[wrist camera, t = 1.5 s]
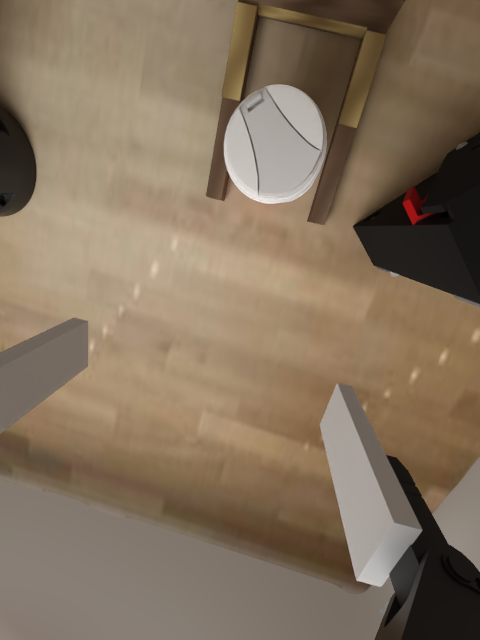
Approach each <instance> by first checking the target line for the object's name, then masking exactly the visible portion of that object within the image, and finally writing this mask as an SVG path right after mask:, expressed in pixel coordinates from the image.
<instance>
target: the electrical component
mask: <svg viewBox="0 0 480 640" xmlns="http://www.w3.org/2000/svg"><path fill="white" fill-rule="evenodd" d="M353 228H354V230H355V231H356V233H357V235H358V237H359V239H360V241H361V243H362V244H363V246H364V248H365V250H366V252H367V254H368V256H369V257H370V259H371V261H372V263H373V265H374V266H377V267H378V269H381V270H384V271H386V272H390V274H391V276H399V275H401V276H404V277H407V278H410V279H412V280H415V281H418V282H420V283H423V284H426V285H429V286H431V287H434V288H437V289H440V290H442V291H445V292H448V293H450V294H453V295H454V297H455V298H457V299H460V300H463V301H465V302H468V303H471V304H473V305H476V306H479V307H480V133H479V134H477V135H475V136H474V137H472V138H471V139H469V140H468V141H466V142H462V143H460V144H459V145H458V146H457V147H456V149H454V150H453V151H451V152H450V153H448V154H447V156H446V158H445V160H444V162H443V164H442V166H441V168H440V170H439V172H437V173H436V174H434V175H432V176H431V177H429V178H428V179H426V180H425V181H423V182H421V183H420V184H418V185H417V186H415V187H412V188H410V189H408V191H407V192H406V193H404V194H403V195H401V196H400V197H398V198H396V199H395V200H393V201H392V202H390V203H389V204H387V205H385V206H384V207H382V208H381V209H379V210H378V211H376V212H375V213H373V214H371V215H370V216H368V217H367V218H365V219H364V220H362V221H360V222H359V223H357V224H356V225H354V226H353Z"/></svg>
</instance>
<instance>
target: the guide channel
mask: <svg viewBox="0 0 480 640" xmlns="http://www.w3.org/2000/svg"><path fill="white" fill-rule="evenodd" d="M404 1H405V0H239V1H238V2H237V6H236V12H235V18H234V24H233V30H232V36H231V42H230V49H229V55H228V61H227V67H226V73H225V79H224V85H223V91H222V97H223V98H222V104H221V110H220V116H219V122H218V128H217V134H216V140H215V146H214V152H213V158H212V164H211V170H210V176H209V182H208V188H207V194H206V196H207V197H209V198H213V199H217V200H222V201H224V198H225V193H226V187H227V182H228V177H229V173H228V171H227V167H226V164H225V158H224V138H225V133H226V129H227V125H228V123H229V121H230V118H231V116H232V115H233V113H234V111H235V109H236V108H237V107H238V106H239V104H240V103H241V102H242V101H243V97H244V92H245V87H246V82H247V76H248V71H249V66H250V60H251V55H252V50H253V45H254V39H255V34H256V29H257V24H258V18H259V17H263V18H268V19H272V20H277V21H281V22H286V23H290V24H295V25H299V26H304V27H308V28H313V29H317V30H322V31H326V32H331V33H335V34H340V35H344V36H349V37H353V38H358V39H362V40H361V43H360V46H359V50H358V53H357V56H356V60H355V63H354V66H353V70H352V73H351V76H350V80H349V83H348V86H347V90H346V93H345V96H344V100H343V103H342V106H341V110H340V113H339V117H338V120H337V123H336V127H335V130H334V133H333V137H332V140H331V143H330V147H329V150H328V153H327V157H326V160H325V163H324V167H323V170H322V173H321V177H320V180H319V183H318V187H317V190H316V193H315V197H314V200H313V204H312V207H311V210H310V214H309V217H308V220H307V221H308V222H312V223H316V224H320V225H325V222H326V219H327V216H328V213H329V210H330V207H331V204H332V200H333V197H334V194H335V191H336V188H337V185H338V182H339V179H340V176H341V173H342V169H343V166H344V163H345V160H346V157H347V154H348V151H349V148H350V145H351V141H352V138H353V135H354V132H355V129H356V128H357V126H358V123H359V120H360V117H361V114H362V110H363V107H364V104H365V101H366V98H367V95H368V92H369V89H370V86H371V83H372V79H373V76H374V73H375V70H376V67H377V64H378V61H379V58H380V55H381V52H382V49H383V45H384V42H385V39H386V36H387V35H386V33H387V30H388V28H389V27H390V25H391V23H392V22H393V20H394V18H395V16H396V15H397V13H398V11H399V10H400V8H401V6H402V5H403V3H404Z"/></svg>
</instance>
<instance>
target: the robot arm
mask: <svg viewBox="0 0 480 640" xmlns="http://www.w3.org/2000/svg"><path fill="white" fill-rule="evenodd" d="M35 177H36V171H35V162H34V157H33V153H32V149H31V147H30V144H29V141H28V139H27V137H26V135H25V133H24V131H23V130H22V128H21V127H20V125H19V124H18V122H17V121H16V120H15V118H14V117H13V116H12V115H11V114H10V113H9V112H8V111H7V110H6V109H5V108H4V107H3V106H1V105H0V217H2V216H9V215H12V214H15V213H17V212H18V211H20V210H21V209H22V208H23V207H24V206H25V205H26V204H27V203H28V201H29V199H30V198H31V195H32V193H33V190H34V186H35ZM86 367H88V321H85V320H81V319H77V318H72V319H70V320H68V321H66V322H64V323H62V324H59V325H57V326H55V327H53V328H51V329H49V330H47V331H45V332H43V333H40V334H38V335H36V336H34V337H32V338H30V339H28V340H26V341H24V342H21V343H19V344H17V345H15V346H13V347H11V348H9V349H7V350H5V351H2V352H0V434H1V433H2V432H3V431H5V430H6V429H7V428H9V427H10V426H11V425H12V424H14V423H15V422H16V421H18V420H19V419H20V418H21V417H23V416H24V415H25V414H27V413H28V412H29V411H31V410H32V409H33V408H34V407H36V406H37V405H38V404H40V403H41V402H42V401H43V400H45V399H46V398H47V397H49V396H50V395H51V394H53V393H54V392H55V391H56V390H58V389H59V388H60V387H62V386H63V385H64V384H66V383H67V382H68V381H69V380H71V379H72V378H73V377H75V376H76V375H77V374H78V373H80V372H81V371H82V370H84V369H85V368H86ZM320 428H321V432H322V437H323V441H324V445H325V449H326V454H327V458H328V462H329V466H330V471H331V475H332V479H333V483H334V488H335V492H336V496H337V500H338V505H339V509H340V513H341V517H342V522H343V526H344V530H345V534H346V539H347V543H348V547H349V551H350V556H351V560H352V564H353V568H354V573H355V577H356V580H357V581H361V582H364V583H368V584H372V585H375V586H379V587H382V585H383V584H384V583H385V581H386V580H387V578H388V577H389V576H390V578H391V581H392V584H393V587H394V590H395V593H394V594H393V596H392V597H391V598H390V600H389V601H388V602H387V603H386V605H385V606H384V607H383V609H382V610H381V613H382V614H383V615H384V617H383V619H382V622H381V624H380V627H379V630H378V632H377V635H376V637H375V640H480V572H479V571H478V569H477V568H476V567H475V566H474V564H473V563H472V562H471V561H470V560H469V559H468V558H467V557H466V556H464V555H463V554H462V553H461V552H460V551H458V550H457V549H455V548H454V547H452V546H451V545H449V544H448V543H447V541H446V539H445V537H444V535H443V534H442V532H441V530H440V528H439V526H438V525H437V523H436V521H435V519H434V517H433V516H432V514H431V512H430V510H429V508H428V506H427V504H426V503H425V501H424V499H423V498H422V497H421V496H422V495H421V494H420V492H419V490H418V488H417V487H415V483H414V481H413V479H412V477H411V475H410V474H409V472H408V470H407V469H406V468H405V467H404V466H403V465H402V463H401V462H400V461H399V460H398V459H397V458H396V457H392V456H388V455H386V454H385V452H384V450H383V448H382V446H381V444H380V442H379V440H378V438H377V436H376V434H375V432H374V430H373V428H372V426H371V424H370V422H369V420H368V418H367V416H366V414H365V412H364V410H363V407H362V405H361V403H360V401H359V399H358V397H357V395H356V393H355V391H354V389H353V387H352V386H348V385H344V384H340V383H337V384H336V387H335V389H334V392H333V394H332V397H331V399H330V401H329V404H328V406H327V409H326V411H325V414H324V416H323V418H322V421H321V423H320Z"/></svg>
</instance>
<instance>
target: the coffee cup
mask: <svg viewBox="0 0 480 640" xmlns="http://www.w3.org/2000/svg"><path fill="white" fill-rule="evenodd" d="M326 148H327V131H326V126H325V122H324V119H323V116H322V114H321V112H320V110H319V108H318V106H317V105H316V104H315V102H314V101H313V100H312V99H311V98H310V97H309V96H308V95H307V94H306V93H304V92H303V91H301V90H299V89H297V88H295V87H292V86H289V85H283V84H273V85H269V86H266V87H263V88H261V89H258V90H256V91H254V92H253V93H251V94H250V95H248V96H247V97H246V98H245V99H244V100H243V101H242V102H241V103H240V104H239V106H238V107H237V108H236V109H235V111H234V113H233V115H232V116H231V118H230V121H229V123H228V125H227V129H226V133H225V138H224V158H225V164H226V167H227V171H228V173H229V175H230V177H231V179H232V181H233V182H234V184H235V185H236V186H237V187H238V189H239V190H240V191H241V192H242V193H244V194H245V195H246V196H248V197H249V198H251V199H253V200H256V201H258V202H262V203H267V204H276V203H282V202H291V201H293V200H295V199H297V198H299V197H300V196H301V195H303V194H304V193H305V192H306V191H307V190H308V189H309V188H310V187H311V186H312V184H313V182H314V180H315V178H316V177H317V175H318V173H319V171H320V169H321V167H322V164H323V162H324V158H325V154H326Z"/></svg>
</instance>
